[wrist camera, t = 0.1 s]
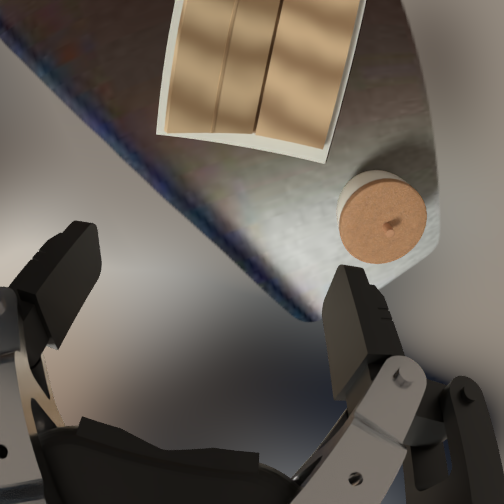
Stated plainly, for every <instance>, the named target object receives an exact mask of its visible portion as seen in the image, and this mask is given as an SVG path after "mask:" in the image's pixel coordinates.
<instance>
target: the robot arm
mask: <svg viewBox="0 0 504 504" xmlns="http://www.w3.org/2000/svg"><path fill="white" fill-rule="evenodd" d="M101 265H102V261H101V255H100V246H99V239H98V230H97V227H96V225H95V224H93V223H88V222H82V221H73V222H72V223H71V224H70V225H69V226H68V227H67V228H66V229H65V231H64V232H63V233H59V234H57V235H56V236H54V237H52V238H51V239H49V240H48V241H47V242H46V243H45V244H44V245H43V246H42V247H41V248H40V250H39V252H37V253H36V254H35V255H34V256H33V259H32V260H30V261H29V262H28V264H27V265H26V266H25V267H24V268H23V269H22V271H21V272H20V273H19V274H18V275H17V277H16V278H15V279H14V281H13V282H12V283H11V284H10V286H9V287H0V504H380V503H381V502H382V500H383V498H384V496H385V495H386V493H387V491H388V489H389V488H390V486H391V484H392V482H393V480H394V478H395V476H396V475H397V473H398V471H399V469H400V467H401V465H402V463H403V470H404V480H405V492H406V504H504V473H503V468H502V463H501V459H500V454H499V449H498V445H497V441H496V437H495V434H494V430H493V426H492V422H491V419H490V415H489V412H488V409H487V405H486V402H485V400H484V396H483V393H482V391H481V389H480V387H479V386H478V385H477V384H476V382H474V381H473V380H472V379H470V378H468V377H465V376H458V377H456V378H454V379H453V380H452V381H451V382H450V383H449V384H448V385H444V384H441V383H438V382H435V381H431V380H428V379H426V377H425V374H424V372H423V370H422V368H421V367H420V366H419V365H418V364H417V363H416V362H415V361H413V360H412V359H410V358H408V357H405V355H404V352H403V349H402V346H401V343H400V340H399V337H398V334H397V331H396V328H395V325H394V322H393V321H392V317H391V314H390V312H389V311H388V306H387V303H386V301H385V298H384V296H383V295H382V294H381V293H380V291H379V290H378V289H377V288H376V286H375V285H370V284H369V282H368V279H367V277H366V274H365V271H364V269H363V268H360V267H354V266H348V265H339V267H338V268H337V270H336V273H335V275H334V278H333V280H332V283H331V285H330V287H329V290H328V292H327V295H326V297H325V299H324V303H323V308H322V319H323V326H324V332H325V339H326V345H327V352H328V359H329V367H330V374H331V382H332V389H333V397H334V400H346V401H347V409H346V410H345V411H344V413H343V414H342V415H341V417H340V418H339V420H338V421H337V423H336V424H335V425H334V427H333V428H332V429H331V431H330V432H329V434H328V435H327V436H326V438H325V439H324V440H323V442H322V443H321V444H320V445H319V447H318V448H317V449H316V451H315V452H314V453H313V454H312V456H311V457H310V458H309V459H308V460H307V461H306V462H305V463H304V464H303V465H302V466H301V468H300V469H299V470H298V471H297V472H296V473H295V474H294V475H293V476H292V478H289V477H288V476H286V475H285V474H283V473H282V472H280V471H278V470H276V469H274V468H272V467H270V466H267V465H265V464H262V463H259V453H255V452H244V451H234V450H226V449H218V448H206V449H192V450H163V449H160V448H158V447H156V446H154V445H152V444H149V443H148V442H146V441H144V440H142V439H140V438H138V437H136V436H134V435H132V434H130V433H128V432H127V431H125V430H123V429H121V428H117V427H114V426H110V425H107V424H104V423H101V422H97V421H94V420H91V419H88V418H85V417H82V418H81V421H80V424H79V426H65V423H64V421H63V419H62V417H61V415H60V413H59V411H58V409H57V406H56V404H55V400H54V397H53V393H52V389H51V385H50V380H49V376H48V372H47V367H46V362H45V358H44V355H43V353H42V352H43V350H44V348H45V347H46V346H48V347H50V348H53V349H56V350H58V349H59V347H60V346H61V343H62V342H63V340H64V338H65V336H66V334H67V332H68V330H69V329H70V327H71V325H72V323H73V321H74V319H75V318H76V316H77V314H78V312H79V311H80V309H81V307H82V305H83V304H84V302H85V300H86V298H87V297H88V295H89V293H90V292H91V290H92V288H93V287H94V285H95V283H96V282H97V280H98V278H99V276H100V272H101ZM446 439H447V440H448V445H449V450H450V455H451V461H452V470H451V473H450V475H449V476H448V470H447V463H446V458H445V452H444V446H443V441H444V440H446Z"/></svg>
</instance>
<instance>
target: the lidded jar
mask: <svg viewBox="0 0 504 504" xmlns="http://www.w3.org/2000/svg"><path fill="white" fill-rule="evenodd" d="M336 215H337V223H338V227H339V231H340V236H341V239H342V242H343V244H344V246H345V248H346V249H347V251H348V252H349V253H350V254H351V255H352V256H354V257H355V258H357V259H359V260H361V261H363V262H367V263H373V264H381V263H387V262H391V261H394V260H397V259H399V258H401V257H402V256H404V255H405V254H407V253H408V252H409V251H410V250H412V249H413V248H414V246H415V245H416V244H417V243H418V241H419V240H420V238H421V236H422V234H423V232H424V229H425V226H426V220H427V212H426V206H425V203H424V201H423V199H422V197H421V196H420V194H419V193H418V192H417V191H416V190H415V189H414V188H413V187H412V186H411V185H409V184H408V183H407V182H406V181H404V180H403V179H402V178H400V177H398V176H397V175H395V174H393V173H390V172H387V171H382V170H371V171H366V172H363V173H360V174H358V175H356V176H355V177H353V178H352V179H351V180H350V181H349V182H348V183H347V184H346V185H345V186H344V188H343V190H342V191H341V193H340V196H339V198H338V202H337V213H336Z"/></svg>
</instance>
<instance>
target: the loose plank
mask: <svg viewBox="0 0 504 504" xmlns="http://www.w3.org/2000/svg"><path fill="white" fill-rule="evenodd" d="M279 4H280V0H184V1H183V6H182V11H181V16H180V21H179V27H178V32H177V38H176V44H175V50H174V56H173V62H172V69H171V76H170V84H169V91H168V99H167V108H166V117H165V127H164V131H165V132H166V133H237V134H252V133H253V127H254V122H255V117H256V112H257V107H258V102H259V97H260V93H261V88H262V83H263V78H264V73H265V68H266V64H267V59H268V54H269V49H270V45H271V40H272V35H273V31H274V26H275V22H276V17H277V13H278V8H279Z"/></svg>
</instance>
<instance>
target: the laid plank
mask: <svg viewBox="0 0 504 504" xmlns="http://www.w3.org/2000/svg"><path fill="white" fill-rule="evenodd" d="M359 2H360V0H280V4H279V8H278V13H277V17H276V22H275V26H274V31H273V35H272V40H271V45H270V49H269V54H268V59H267V64H266V68H265V73H264V78H263V83H262V88H261V93H260V97H259V102H258V107H257V112H256V117H255V122H254V127H253V133H256V134H255V135H258V136H263V137H268V138H273V139H278V140H283V141H288V142H292V143H297V144H301V145H306V146H310V147H314V148H318V149H322V150H323V148H324V144H325V140H326V137H327V133H328V129H329V125H330V122H331V118H332V114H333V110H334V107H335V103H336V99H337V95H338V91H339V87H340V83H341V79H342V75H343V71H344V67H345V63H346V59H347V55H348V50H349V46H350V42H351V38H352V33H353V29H354V24H355V20H356V16H357V11H358V6H359Z"/></svg>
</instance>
